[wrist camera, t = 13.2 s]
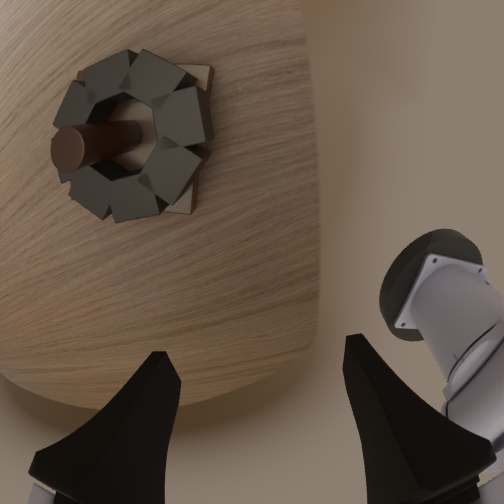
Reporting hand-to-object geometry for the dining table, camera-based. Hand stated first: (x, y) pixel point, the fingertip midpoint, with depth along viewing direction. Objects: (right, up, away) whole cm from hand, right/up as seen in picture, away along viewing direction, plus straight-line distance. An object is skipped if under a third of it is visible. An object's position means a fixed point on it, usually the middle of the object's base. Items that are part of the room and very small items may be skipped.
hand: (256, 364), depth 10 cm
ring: (-7, +11, +4) cm, 14 cm away
